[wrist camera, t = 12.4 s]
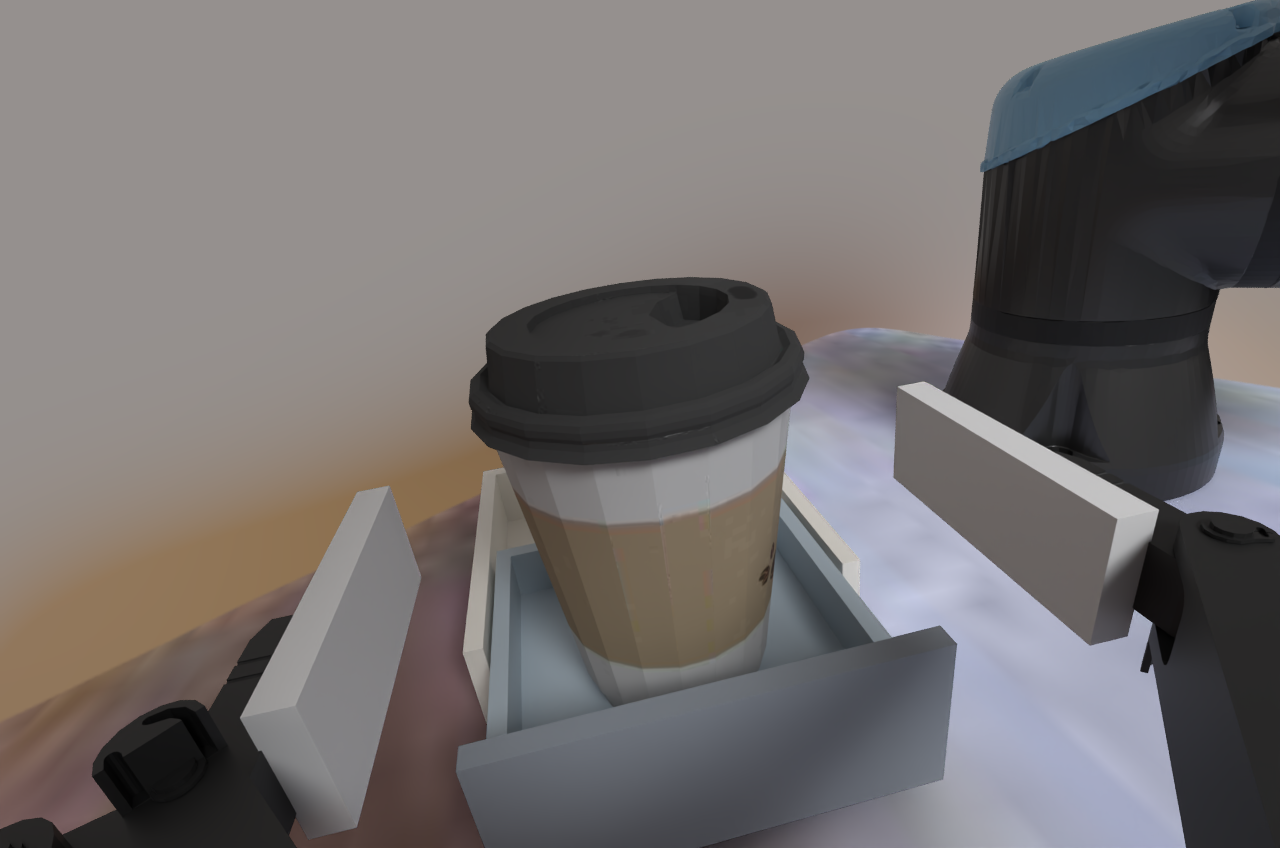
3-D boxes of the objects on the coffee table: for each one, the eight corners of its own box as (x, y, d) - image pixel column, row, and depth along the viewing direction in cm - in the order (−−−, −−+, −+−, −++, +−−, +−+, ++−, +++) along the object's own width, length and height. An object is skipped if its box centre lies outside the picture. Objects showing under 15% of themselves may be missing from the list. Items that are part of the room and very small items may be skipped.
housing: (742, 472, 43) (739, 419, 41) (858, 630, 28) (860, 559, 26) (497, 524, 41) (483, 471, 39) (486, 723, 26) (462, 652, 25)
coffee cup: (861, 755, 21) (870, 330, 15) (531, 806, 21) (402, 400, 15) (772, 555, 31) (756, 256, 25) (552, 589, 31) (482, 297, 25)
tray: (778, 540, 34) (773, 443, 31) (943, 779, 21) (956, 644, 18) (510, 601, 32) (483, 503, 30) (505, 902, 19) (455, 771, 17)
